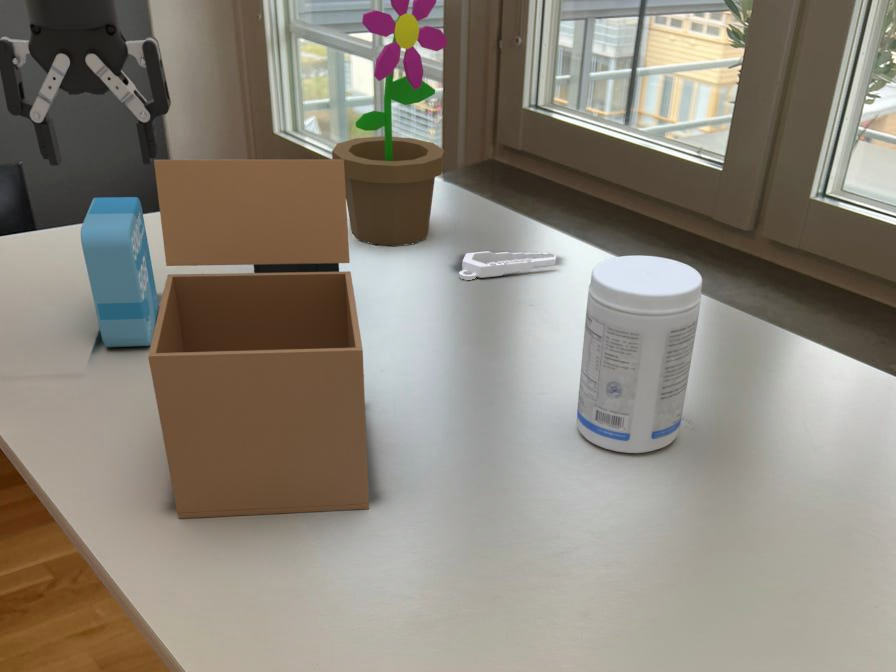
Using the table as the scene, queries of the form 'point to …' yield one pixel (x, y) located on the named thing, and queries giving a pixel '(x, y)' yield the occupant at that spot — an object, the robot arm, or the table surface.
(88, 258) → the data package
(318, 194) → the flap
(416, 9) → the flowerpot
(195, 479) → the carton
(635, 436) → the supplement tub
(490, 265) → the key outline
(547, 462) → the table surface
